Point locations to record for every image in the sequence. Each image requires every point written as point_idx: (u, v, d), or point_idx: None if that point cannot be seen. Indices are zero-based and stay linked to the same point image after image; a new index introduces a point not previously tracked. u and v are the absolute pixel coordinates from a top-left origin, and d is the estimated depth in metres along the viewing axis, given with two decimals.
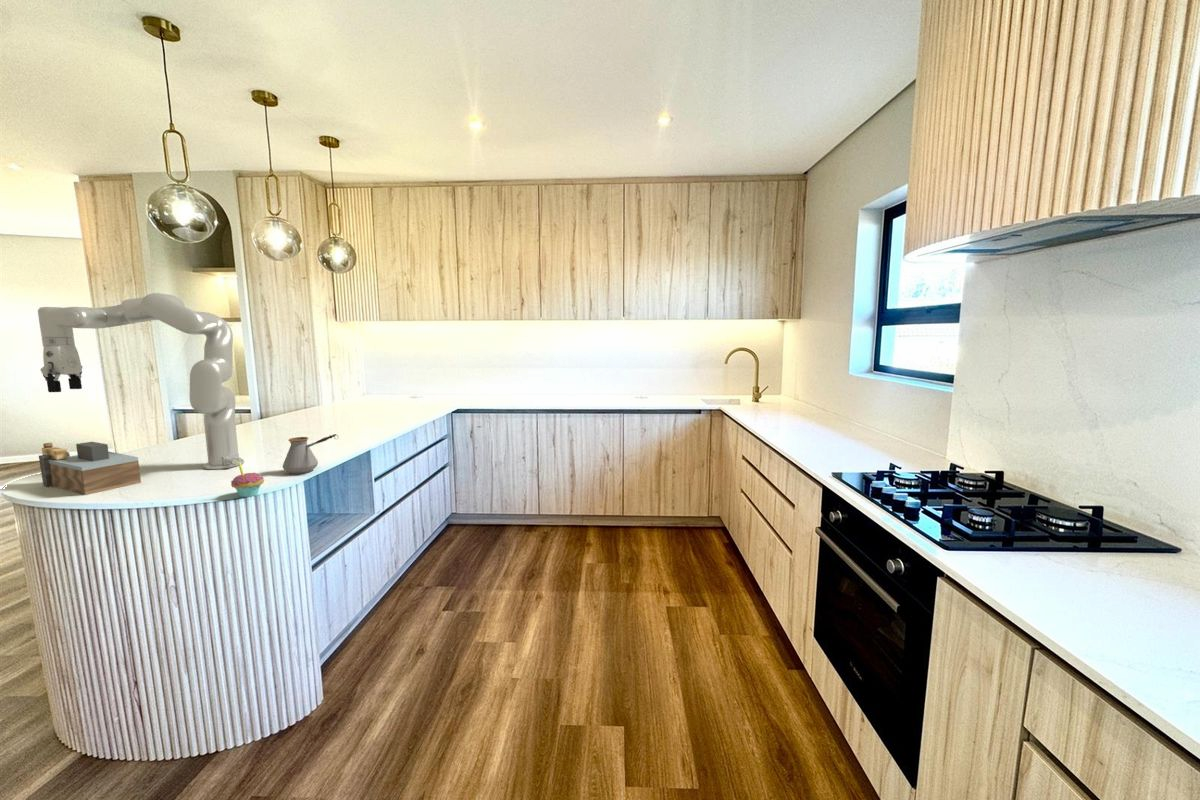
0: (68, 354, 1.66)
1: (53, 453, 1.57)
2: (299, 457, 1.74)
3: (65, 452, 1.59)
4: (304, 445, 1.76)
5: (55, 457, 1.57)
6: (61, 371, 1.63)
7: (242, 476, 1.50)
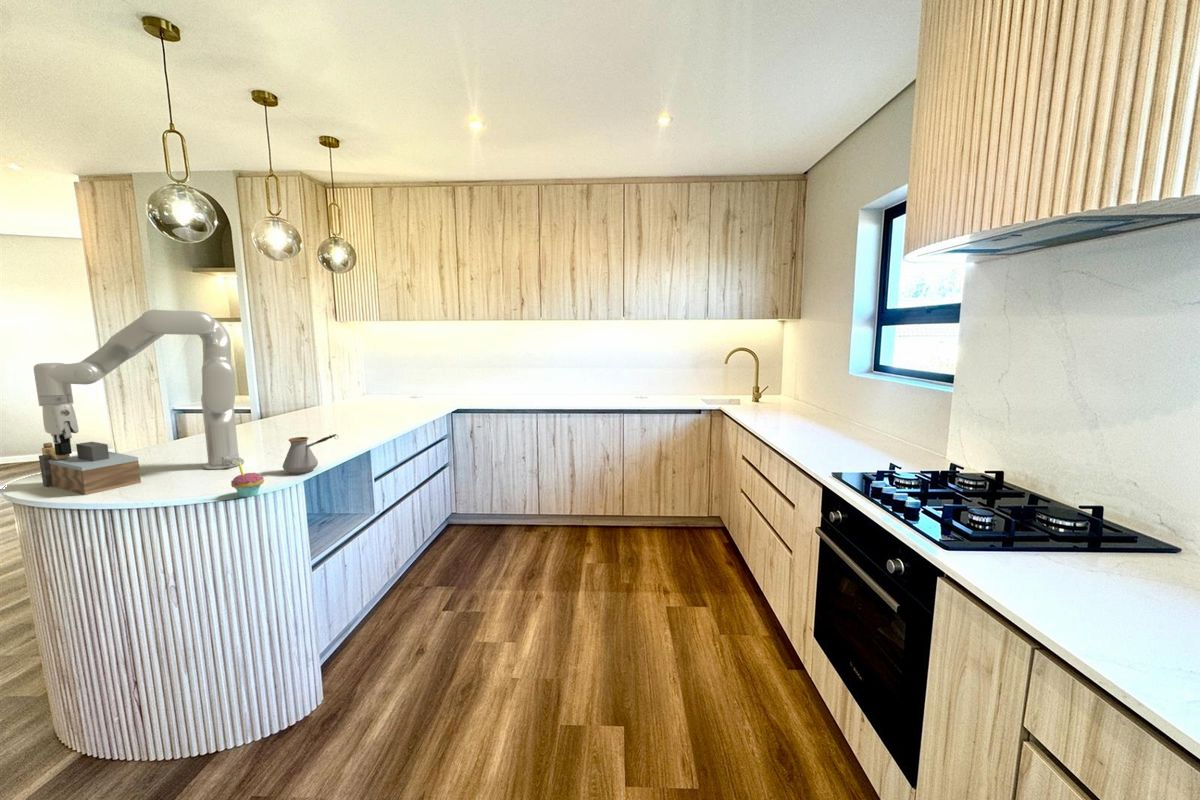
0: None
1: (53, 453, 1.57)
2: (299, 456, 1.74)
3: None
4: (304, 445, 1.76)
5: (55, 457, 1.57)
6: (78, 429, 1.57)
7: (242, 476, 1.50)
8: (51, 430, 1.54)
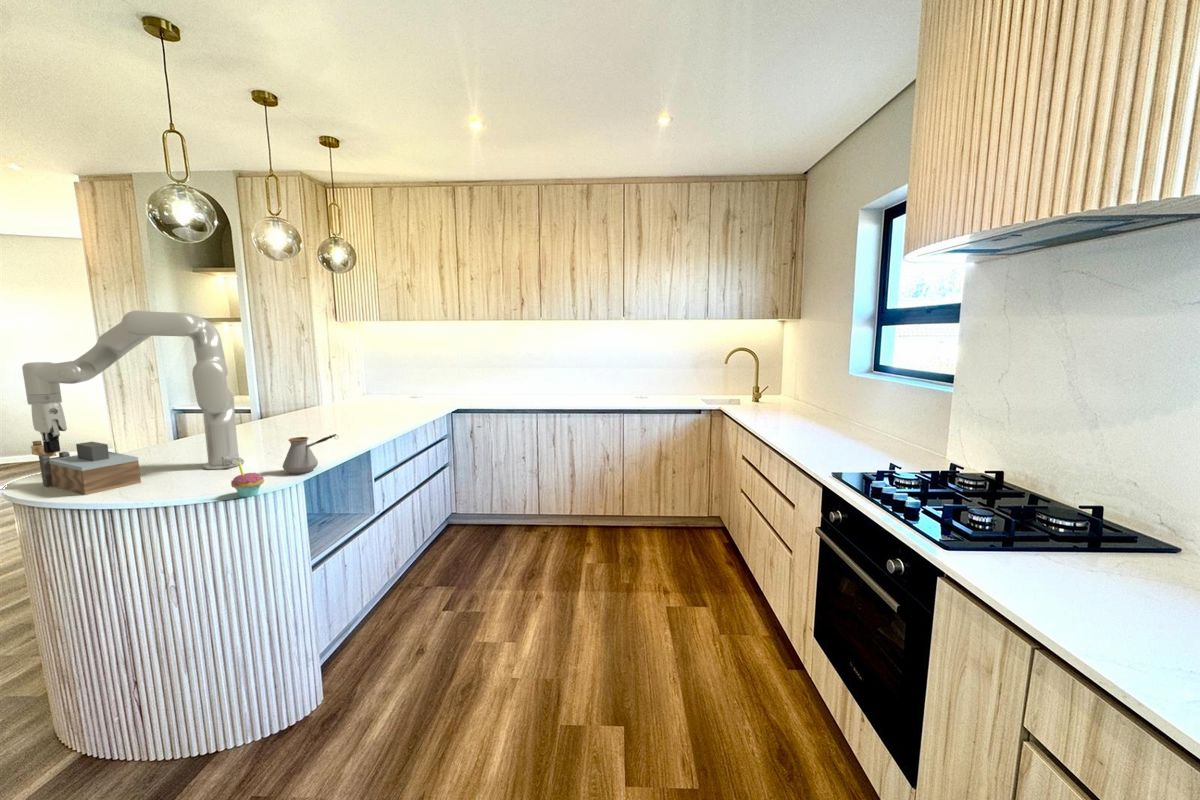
0: None
1: (42, 451, 1.60)
2: (299, 457, 1.74)
3: None
4: (304, 445, 1.76)
5: None
6: (66, 427, 1.59)
7: (242, 476, 1.50)
8: (40, 428, 1.57)
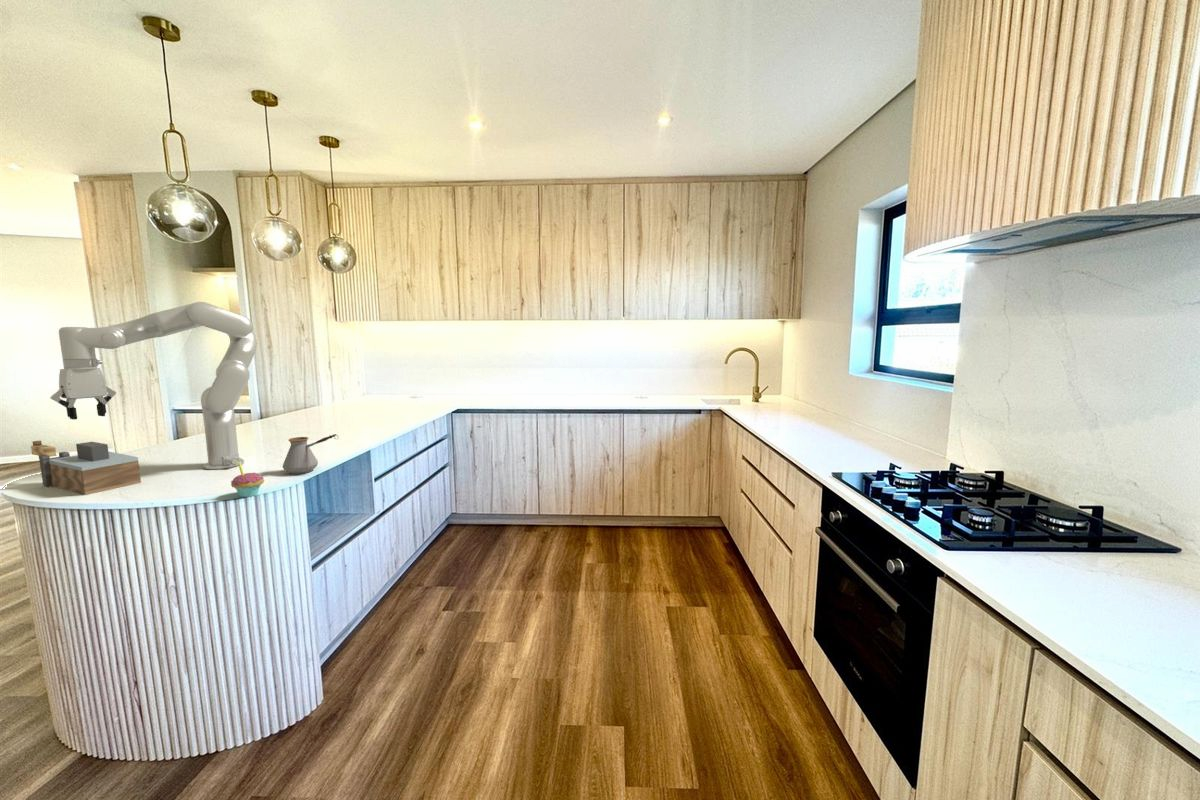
0: None
1: (42, 451, 1.60)
2: (299, 457, 1.74)
3: (54, 450, 1.62)
4: (304, 445, 1.76)
5: None
6: None
7: (242, 476, 1.50)
8: (90, 393, 1.57)
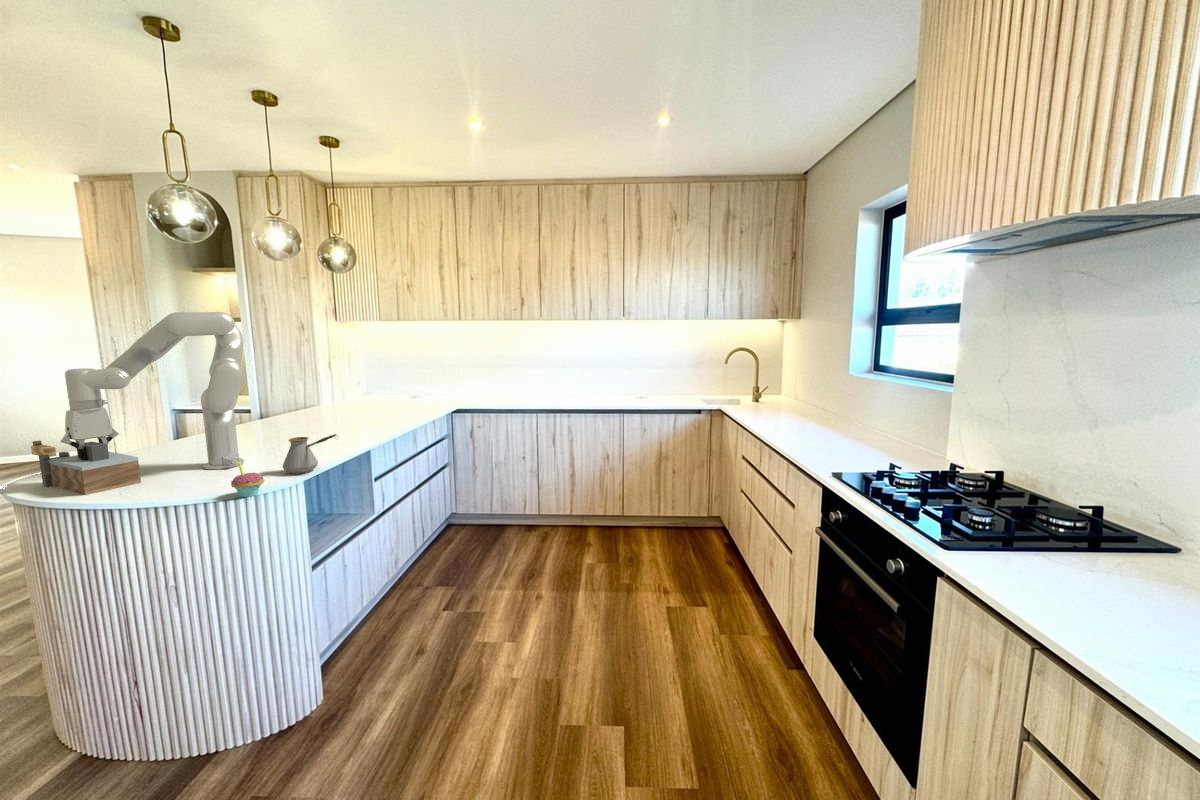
0: None
1: (42, 451, 1.60)
2: (299, 457, 1.74)
3: (54, 450, 1.62)
4: (304, 445, 1.76)
5: None
6: None
7: (242, 476, 1.50)
8: (95, 433, 1.59)
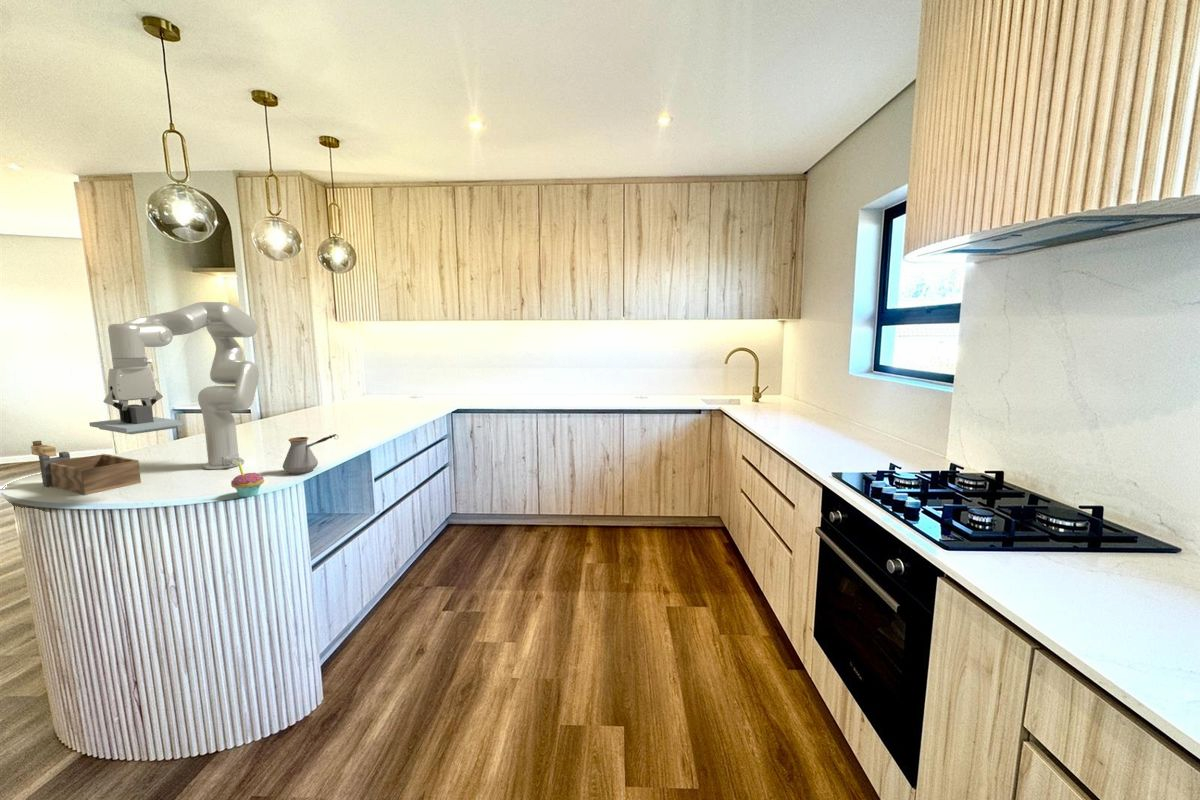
0: None
1: (42, 451, 1.60)
2: (299, 457, 1.74)
3: (54, 450, 1.62)
4: (304, 445, 1.76)
5: None
6: None
7: (242, 476, 1.50)
8: (139, 394, 1.47)
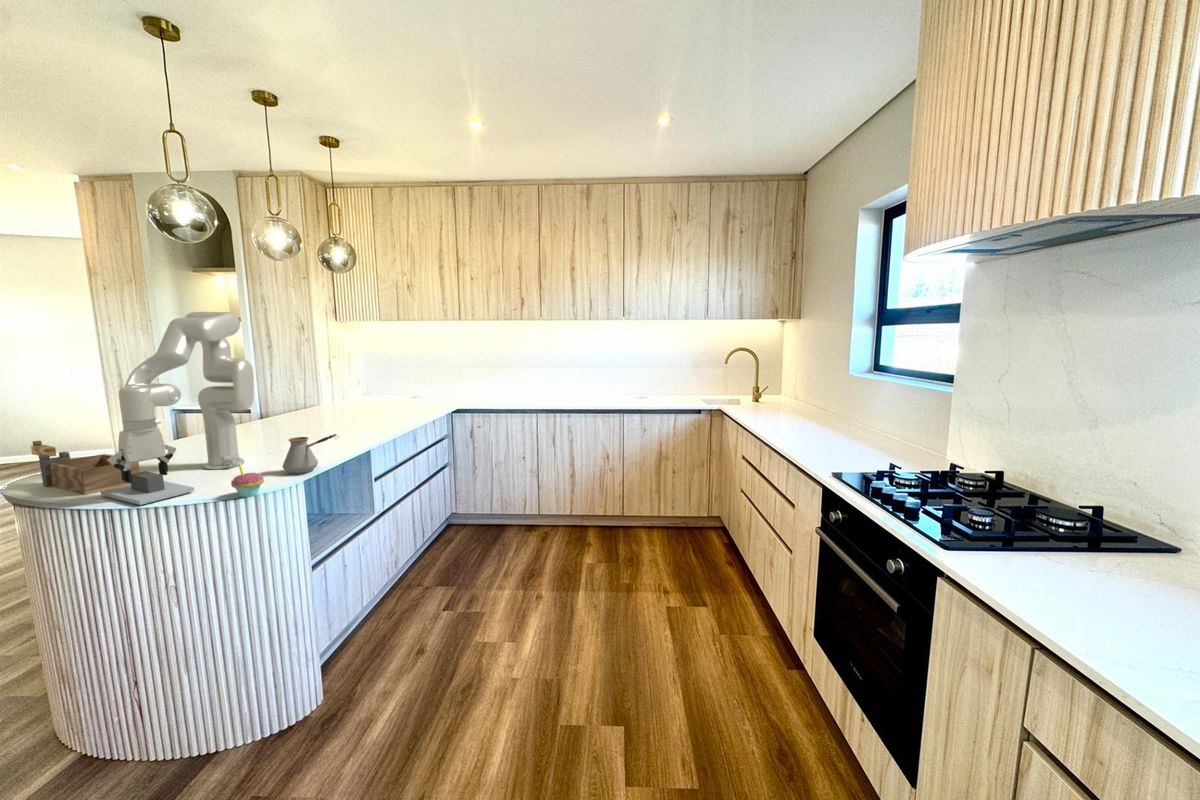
0: None
1: (42, 451, 1.60)
2: (299, 457, 1.74)
3: (54, 450, 1.62)
4: (304, 445, 1.76)
5: None
6: None
7: (242, 476, 1.50)
8: (149, 455, 1.49)
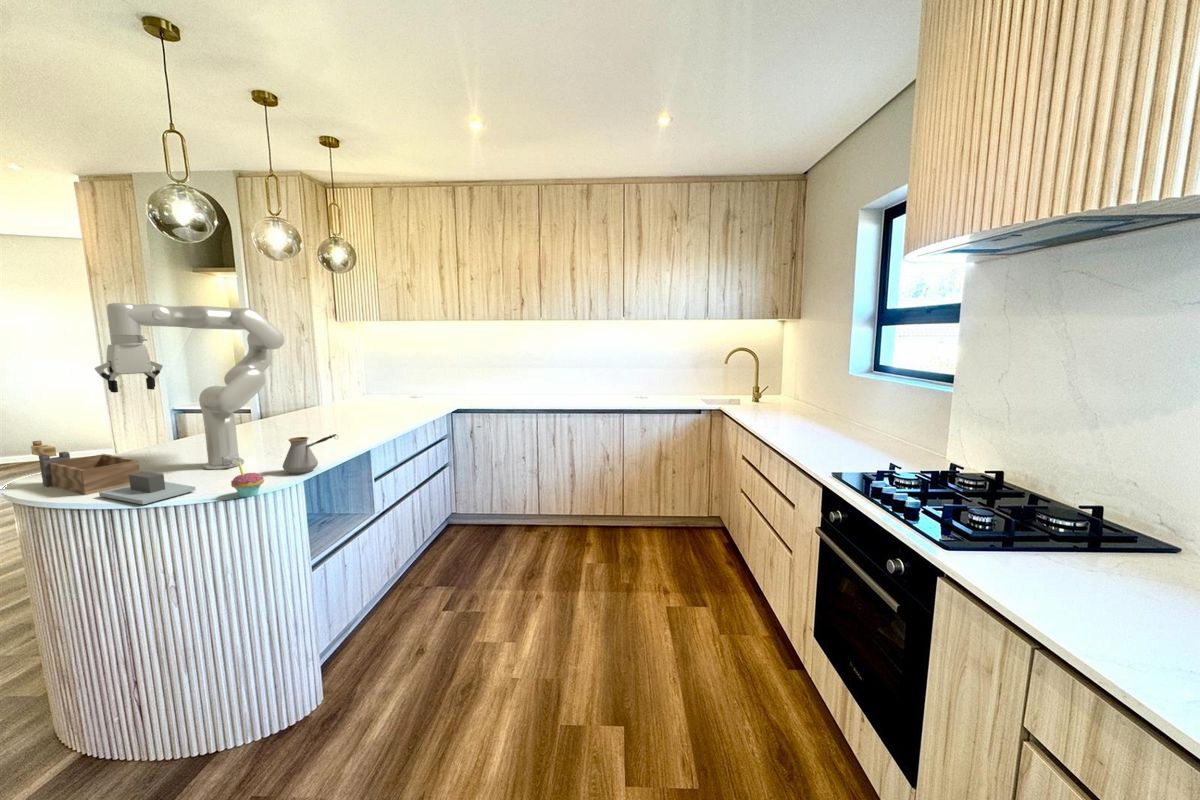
0: None
1: (42, 451, 1.60)
2: (299, 457, 1.74)
3: (54, 450, 1.62)
4: (304, 445, 1.76)
5: None
6: None
7: (242, 476, 1.50)
8: (135, 369, 1.59)
